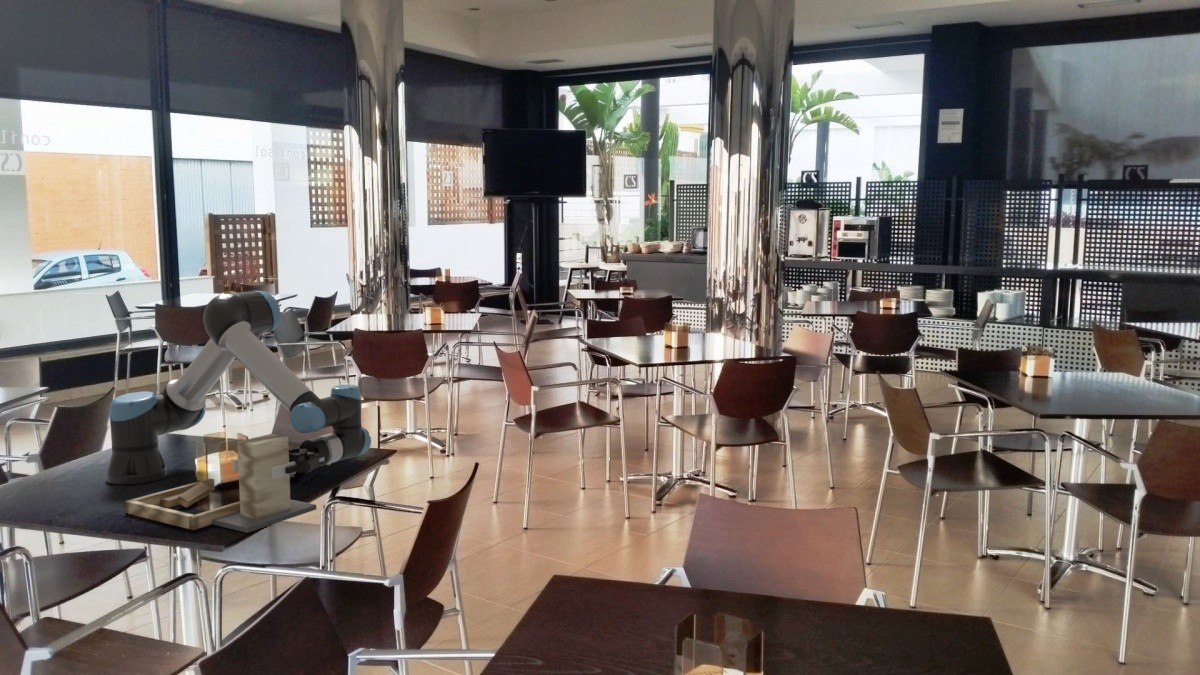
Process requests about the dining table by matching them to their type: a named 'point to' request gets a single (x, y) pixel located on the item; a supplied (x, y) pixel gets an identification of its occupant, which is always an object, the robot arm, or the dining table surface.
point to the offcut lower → (170, 500)
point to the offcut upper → (193, 494)
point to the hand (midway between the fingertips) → (252, 469)
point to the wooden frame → (151, 510)
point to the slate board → (252, 524)
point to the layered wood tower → (263, 476)
